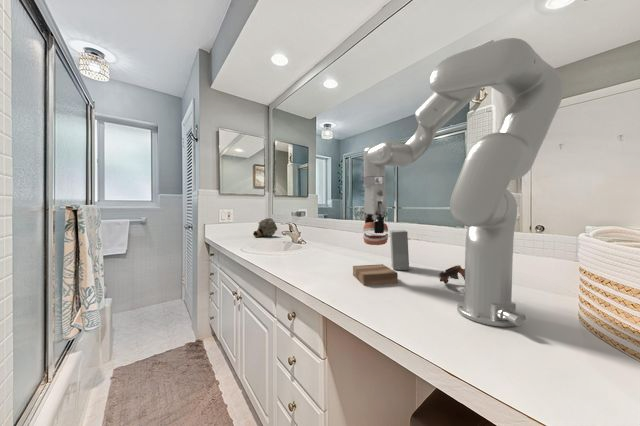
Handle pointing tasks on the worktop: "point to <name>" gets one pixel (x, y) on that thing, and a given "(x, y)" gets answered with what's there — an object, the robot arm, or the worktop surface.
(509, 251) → the robot arm
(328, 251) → the worktop surface
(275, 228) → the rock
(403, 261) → the skincare box
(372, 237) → the dentures
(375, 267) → the walnut base
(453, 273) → the dark brown jagged part
